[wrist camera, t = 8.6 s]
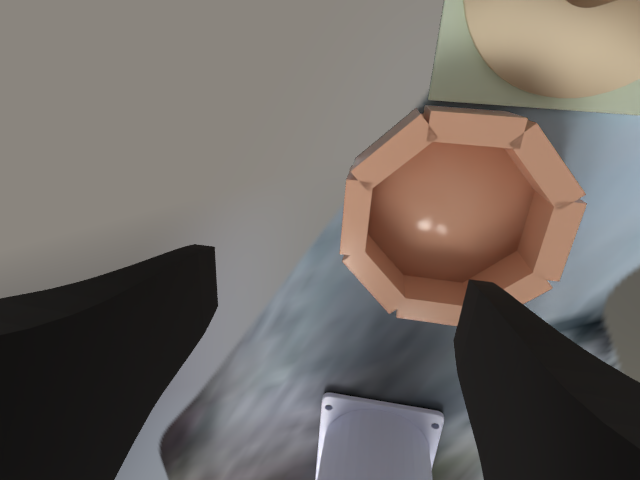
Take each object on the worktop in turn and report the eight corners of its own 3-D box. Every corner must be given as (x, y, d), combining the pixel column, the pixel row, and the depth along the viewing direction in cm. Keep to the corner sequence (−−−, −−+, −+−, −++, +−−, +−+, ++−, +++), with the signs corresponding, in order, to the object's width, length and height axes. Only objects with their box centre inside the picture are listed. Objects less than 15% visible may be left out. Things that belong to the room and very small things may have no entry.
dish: (519, 304, 21) (538, 337, 19) (341, 280, 23) (334, 308, 20) (579, 116, 17) (615, 124, 15) (358, 100, 19) (352, 104, 16)
